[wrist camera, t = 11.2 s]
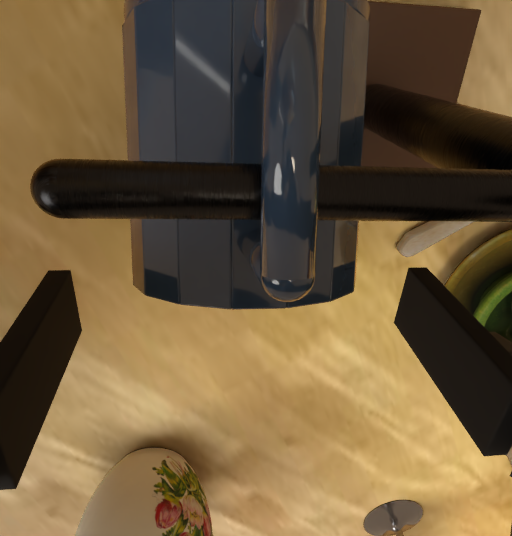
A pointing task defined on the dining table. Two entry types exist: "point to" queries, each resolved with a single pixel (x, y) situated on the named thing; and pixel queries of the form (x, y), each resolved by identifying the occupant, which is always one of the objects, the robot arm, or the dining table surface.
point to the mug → (248, 142)
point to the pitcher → (148, 499)
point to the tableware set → (474, 275)
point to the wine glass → (393, 518)
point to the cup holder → (332, 177)
